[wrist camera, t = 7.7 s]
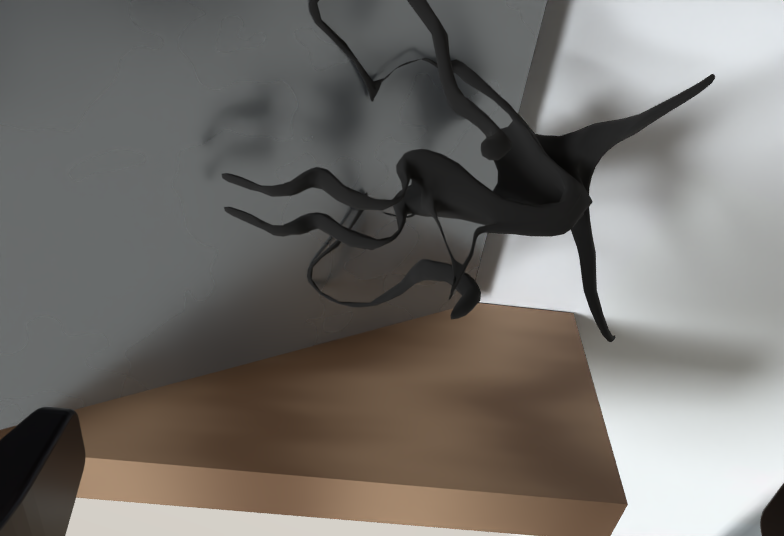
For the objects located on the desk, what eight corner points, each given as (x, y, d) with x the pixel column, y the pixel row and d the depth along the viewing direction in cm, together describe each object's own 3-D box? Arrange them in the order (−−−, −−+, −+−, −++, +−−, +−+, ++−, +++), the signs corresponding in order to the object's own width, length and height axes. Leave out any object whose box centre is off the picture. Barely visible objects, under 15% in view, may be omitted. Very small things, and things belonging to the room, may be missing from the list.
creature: (226, 290, 17) (532, 255, 19) (255, 481, 13) (635, 412, 15) (198, -56, 12) (612, -54, 14) (229, 85, 9) (793, 60, 11)
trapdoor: (555, -145, 14) (582, -135, 14) (454, 286, 21) (469, 304, 20) (-199, -193, 9) (-204, -181, 8) (-14, 405, 16) (-10, 432, 15)
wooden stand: (781, -238, 13) (1019, -200, 8) (559, 349, 22) (606, 541, 17) (-165, -395, 12) (-578, -464, 7) (7, 293, 21) (-118, 481, 16)
